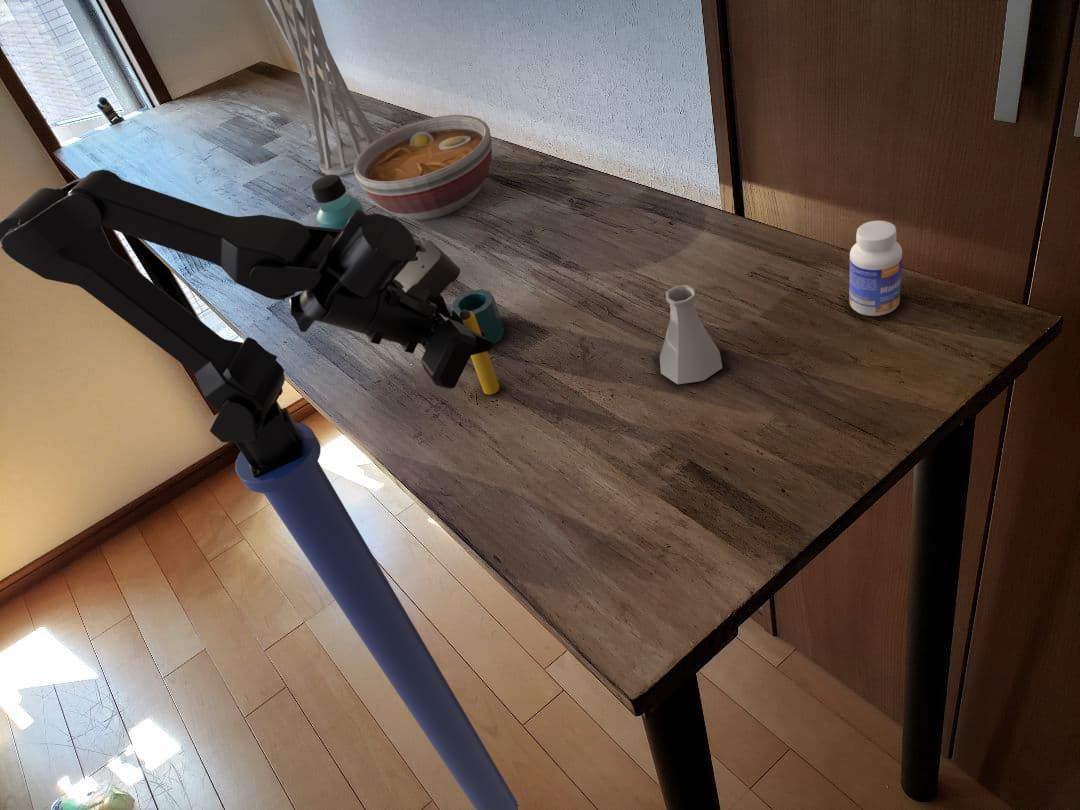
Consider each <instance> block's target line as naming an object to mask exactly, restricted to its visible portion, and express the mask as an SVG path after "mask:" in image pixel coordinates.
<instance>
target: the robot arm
mask: <svg viewBox="0 0 1080 810" xmlns="http://www.w3.org/2000/svg"><path fill="white" fill-rule="evenodd" d="M103 228H106V229H109V230H111V231H114V232H119V233H122V234H124V235H128V236H130V237H134V238H136V239H139V240H143V241H146V242H148V243H151V244H155V245H158V246H161V247H164V248H167V249H168V250H173V251H176V252H179V253H181V254H185V255H188V256H191V257H194V258H197V259H200V260H203V261H206V262H209V263H212V264H214V265H216V266H218V267H220V268H221V269H222V270H223V271H224V272H225V273H226V274H227V276H229V278H231V280H232V281H233V282H234V283H235V284H237V285H239V286H241V287H243V288H246V289H248V290H250V291H251V292H254V293H256V294H259V295H261V296H262V297H265V298H268V299H270V300H275V301H284V300H286V299H287V298H288V299H289V313H290V315H291V316H292V317H293V318H294V320H295V322H296V325H297V326H298V329H299V331H300V332H302V333H306V332H308V330H309V329H310V328H311V326H312V325H313V323H314V322H319V323H323V324H327V325H330V326H334V327H338V328H341V329H345V330H349V331H352V332H355V333H359V334H363V335H365V336H366V338H367V340H368V341H369V342H370V344H371V343H372V344H375V345H380V344H381V342H382V340H384V341H389V342H392V343H396V344H399V345H400V347H401V348H402V350H403V351H404V352H405V353H409V354H411V355H412V354H414V353H415V351H416V349H417V346H418V344H419V345H421V346H422V348H423V349H424V350H425V351H424V352H423V355H422V356H421V359H420V363H421V365H422V367H423V370H424V372H425V373H426V374H427V376H428V377H429V378H430V380H431V381H432V382H433V384H434V385H435V386H437V387H440V388H443V389H448V390H452V389H454V388H456V386H457V384H458V383H459V380H460V378H461V376H462V374H463V372H464V370H465V368H466V366H467V364H468V363H469V360H470V358H471V355H475V354H479V353H483V352H486V351H487V352H489V351H490V350H491V349H492V347H493V342H492V341H490V340H488V339H487V338H485V337H484V336H485V333H484V332H482V331H481V330H480V332H481V335H482V336H481V335H479V334H477V333H475V332H473V331H471V330H469V329H468V328H467V327H466V326H464V322H463V320H462V319H461V318H460V317H459V315H458V314H457V313H456V312H455V311H454V310H453V311H452V310H450V309H448V307H447V304H446V302H445V298H444V297H443V296H442V293H443V291H445V290H446V289H447V287H448V286H449V285H450V284H451V283H453V282H456V280H457V279H458V278H459V277H460V274H461V268H460V267H459V266H458V265H457V264H456V263H455V262H454V261H453V260H452V259H451V257H450V256H449V255H447V254H446V253H445V252H444V251H443V250H441V249H440V248H439V247H438V246H437V245H436V244H435V243H434V242H433V241H432V240H430V239H429V240H426V239H425V238H421V240H417V239H414V236H413V234H412V233H411V232H410V230H409V229H408V228H407V226H405V225H404V224H403V223H402V222H401V221H400V220H398V219H397V218H395V217H392V216H391V217H390V216H387V215H384V214H381V213H371V214H366V212H364V213H363V212H362V211H361V210H359V209H356V210H355V211H354V212H353V214H352V215H351V217H350V218H349V220H348V222H347V223H346V225H345V227H344V229H334V228H324V227H320V226H313V225H304V224H302V223H300V222H298V221H295V220H292V219H288V218H283V217H277V216H271V215H266V214H255V215H253V214H252V215H245V216H244V215H243V216H235V215H230V214H225V213H222V212H219V211H216V210H214V209H210V208H207V207H205V206H201V205H199V204H196V203H193V202H190V201H186V200H185V199H184V200H183V199H181V198H177V197H175V196H173V195H169V194H166V193H162V192H161V191H157V190H154V189H151V188H148V187H146V186H142V185H138V184H137V183H133V182H130V181H127V180H124V179H122V178H121V177H120V176H118V175H117V174H116V173H115V172H112V171H111V170H108V169H103V168H101V169H98V170H92V171H90V173H88V174H87V175H86V176H84V177H81V178H77V179H74V180H73V181H70V182H69V183H67V184H66V185H63V186H62V187H60V188H59V187H57V188H51V187H43V188H38V189H37V190H36V191H35V192H33V193H32V194H31V195H30V196H28V197H27V198H26V199H25V200H24V201H22V203H20V204H19V205H18V206H17V207H16V208H15V209H13V210H12V211H11V212H10V213H8V214H7V216H5V217H4V218H3V219H2V220H0V247H1V250H3V252H4V253H5V254H6V255H7V256H8V257H10V259H12V260H13V261H15V262H16V263H18V264H20V266H23V267H25V268H26V269H28V270H29V271H31V272H33V273H35V274H36V275H37V276H39V277H41V278H43V279H45V280H49V281H53V282H58V283H63V284H68V285H74V286H76V287H77V286H78V287H80V288H81V289H83V290H84V291H86V292H87V293H88V294H89V295H90V296H92V298H94V299H96V300H97V301H98V302H100V303H101V304H102V305H104V306H105V307H106V308H108V309H109V310H111V311H112V312H113V313H115V314H116V315H117V316H118V317H119V318H121V319H122V320H124V321H125V322H126V323H127V324H129V325H130V326H131V327H133V328H134V329H135V330H137V331H138V332H139V333H140V334H142V335H143V336H145V337H146V338H147V339H148V340H150V341H151V342H153V343H154V344H155V345H156V346H157V347H159V348H160V349H162V351H164V352H166V354H168V355H169V356H171V357H172V358H173V359H175V360H176V361H178V362H179V363H180V364H181V365H183V366H184V367H185V368H186V369H188V370H189V371H191V372H192V373H193V375H194V377H195V379H196V381H197V384H198V386H199V388H200V390H201V394H202V395H203V397H204V399H205V400H206V401H207V402H208V403H209V404H210V405H211V406H212V407H213V408H214V409H216V410H217V412H218V413H217V416H216V417H215V419H214V421H213V423H212V425H211V428H210V429H209V432H210V433H211V435H213V436H214V437H216V439H218V440H219V442H220V443H234V444H235V445H236V446H237V448H238V450H240V452H242V454H243V455H244V457H245V458H246V460H247V461H248V463H249V464H250V468H251V473H252V475H253V477H255V478H256V477H259V476H261V475H263V474H265V473H268V472H270V471H272V470H274V469H276V468H279V467H281V466H283V465H285V464H287V463H289V462H292V461H294V460H296V459H298V458H300V457H302V456H303V450H302V447H301V443H302V441H303V440H302V437H301V433H300V430H299V428H298V427H297V425H296V423H297V422H295V420H294V418H293V417H292V414H291V413H290V411H289V409H288V408H287V407H281V405H280V404H279V402H278V399H279V398H280V396H281V395H282V394H283V393H284V392H283V387H284V384H285V381H286V377H285V369H284V368H283V365H281V364H280V362H279V361H277V360H278V356H277V355H275V354H273V353H271V352H270V351H268V350H266V349H265V348H264V347H263V346H262V345H261V344H260V343H259V342H258V341H257V340H256V339H254V338H252V337H250V336H249V337H246V338H245V339H244V340H243V342H242V341H237V340H232V339H231V340H230V339H227V338H226V339H225V338H223V337H222V336H220V335H219V334H218V333H216V331H214V329H212V328H210V327H209V326H208V325H206V324H205V323H204V322H203V321H201V320H200V319H199V318H198V317H196V316H195V315H194V314H192V313H191V312H190V311H189V310H188V309H186V308H185V307H184V306H183V305H181V304H180V303H179V302H178V301H176V300H175V299H174V298H173V297H171V296H170V295H169V294H167V293H166V292H165V291H164V290H163V289H161V288H160V287H158V286H157V284H155V283H154V282H152V281H151V280H150V279H148V278H147V277H146V276H145V275H144V274H142V273H141V272H140V271H138V270H137V269H136V268H135V267H134V266H132V265H131V264H130V263H129V262H128V261H126V260H125V259H123V258H122V257H121V255H119V254H117V253H116V252H115V251H114V250H113V249H112V247H111V245H110V242H109V239H108V238H107V235H106V234H105V233H106V232H105V231H104V229H103ZM299 292H300V293H299ZM297 293H298V294H297Z"/></svg>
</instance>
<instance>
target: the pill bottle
mask: <svg viewBox="0 0 1080 810" xmlns="http://www.w3.org/2000/svg"><path fill="white" fill-rule="evenodd" d="M855 236H856V237H855V241H856V242H855V243H854V245H852V247H851V249H850V251H849V287H848V289H849V290H848V291H849V292H848V293H849V295H848V300H849V301H848V302H849V305H850V307H851V309H852V310H853V311H855V312H856V313H858V314H860V315H863V316H868V317H879V316H883V315H887V314H889V313H891V312H893V311H895V310H896V309H897V307H898V306H899V305H900V302H901V301H900V299H901V285H902V283H901V282H902V267H903V248H902V246H901V244H900V243H899V242H898V241H897V238H898V237H897V236H898V235H897V228H896V225H894V224H893V223H891V222H889V221H887V220H886V221H885V220H871V221H867V222H864V223H862V224H861V225H860V226H859V227H858V228H857V229H856V235H855Z"/></svg>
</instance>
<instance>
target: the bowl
mask: <svg viewBox="0 0 1080 810" xmlns="http://www.w3.org/2000/svg"><path fill="white" fill-rule="evenodd" d="M492 146H493V142H492V135H491V130H490V127H489V125H488V123H486V122H485V121H484V120H482V119H481V118H478V117H475V116H472V115H465V114H450V115H449V114H448V115H440V116H434V117H429V118H424V119H421V120H418V121H414V122H411V123H409V124H405V125H403V126H401V127H398V128H396V129H394V130H392V131H390V132H388V133H386V134H384V135H382V136H380V137H379V139H378V140H376V141H374V142H373V143H372V144H370V145H369V146H368V147H367V148H366V149H364V151H363V152H362V153H361V154H360V155H359V156H358V158H357V160H356V162H355V165H354V172H353V173H354V176H355V178H356V180H357V182H358V183H359V186H360V187H361V188H362V189H363V190H364V192H365V193H366V194H367V195H368V196H369V198H370V199H371V200H372V201H373V202H375V203H376V204H377V205H378V206H380V207H381V208H382V209H383V210H386V211H388V212H389V213H391V214H393V215H396V216H398V217H401V218H405V219H411V220H418V221H419V220H420V221H422V220H432V219H437V218H442V217H444V216H447V215H450V214H452V213H454V212H456V211H458V210H460V209H461V208H464V206H466V205H468V203H469V202H471V200H472V199H473V198H474V197H475V196H476V195H477V194H478V193H479V192H480V191H481V189H482V187H483V186H484V183H485V181H486V180H487V177H488V175H489V171H490V167H491V163H492V157H493V155H492V153H493V148H492Z"/></svg>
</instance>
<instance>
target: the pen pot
mask: <svg viewBox="0 0 1080 810" xmlns="http://www.w3.org/2000/svg"><path fill="white" fill-rule="evenodd" d="M450 307H451V308H450V309H451V312H452V311H453V310H454V311H455V312H456V313H457V314H458V315H460V312H461V311H462V310H468V311H471V312H473V313H474V315H475V318H476V321H477V323H478V326H479V329H480V330H481V331H482V332H484V333H485V336H484V337H485V338H487V339H488V340H490V341H492V342H493V345H496V344H497V343H498V342H500V340H501V339H502V338H503V336H504V333H505V329H504V324H503V322H502V318H501V315H500V313H499V309H498V306H497V303H496V300H495V297H494V295H493V294H492V292H491V291H490V290H485V289H472V290H468V291H466V292H464V293H462V294H460V295H458V296H457V297H456V299H454V300H453V301H452V304H451V306H450ZM493 345H492V346H493Z"/></svg>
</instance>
